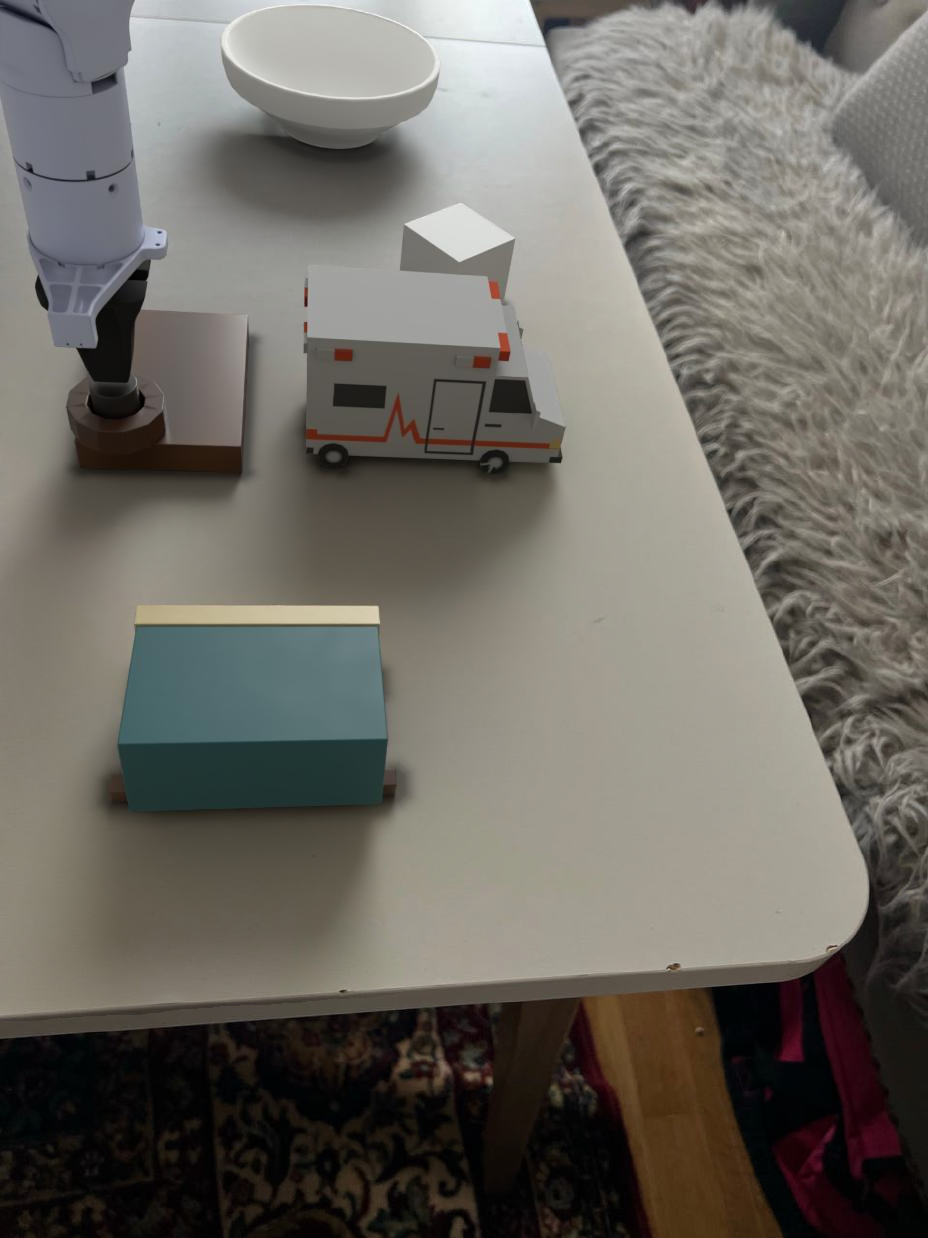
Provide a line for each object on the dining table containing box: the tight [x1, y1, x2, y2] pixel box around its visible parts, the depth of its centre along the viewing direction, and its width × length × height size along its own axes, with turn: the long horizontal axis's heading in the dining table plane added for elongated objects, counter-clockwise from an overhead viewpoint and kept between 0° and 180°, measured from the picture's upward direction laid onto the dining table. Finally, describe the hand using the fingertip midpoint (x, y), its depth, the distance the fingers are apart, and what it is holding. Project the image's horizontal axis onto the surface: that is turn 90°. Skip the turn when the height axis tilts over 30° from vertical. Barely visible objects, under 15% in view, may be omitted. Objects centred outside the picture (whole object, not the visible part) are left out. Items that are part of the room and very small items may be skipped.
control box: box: [65, 308, 250, 473], centre depth 67 cm, size 10×15×4 cm
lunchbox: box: [116, 604, 389, 812], centre depth 50 cm, size 12×5×9 cm
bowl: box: [219, 3, 442, 150], centre depth 93 cm, size 20×20×7 cm
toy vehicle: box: [302, 264, 567, 475], centre depth 66 cm, size 10×17×10 cm, turn 95°
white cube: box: [399, 202, 516, 305], centre depth 78 cm, size 6×6×6 cm
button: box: [89, 373, 140, 419], centre depth 61 cm, size 3×3×2 cm
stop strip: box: [108, 768, 398, 803], centre depth 51 cm, size 14×1×1 cm, turn 96°
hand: (112, 375), depth 60 cm, fingers closed
